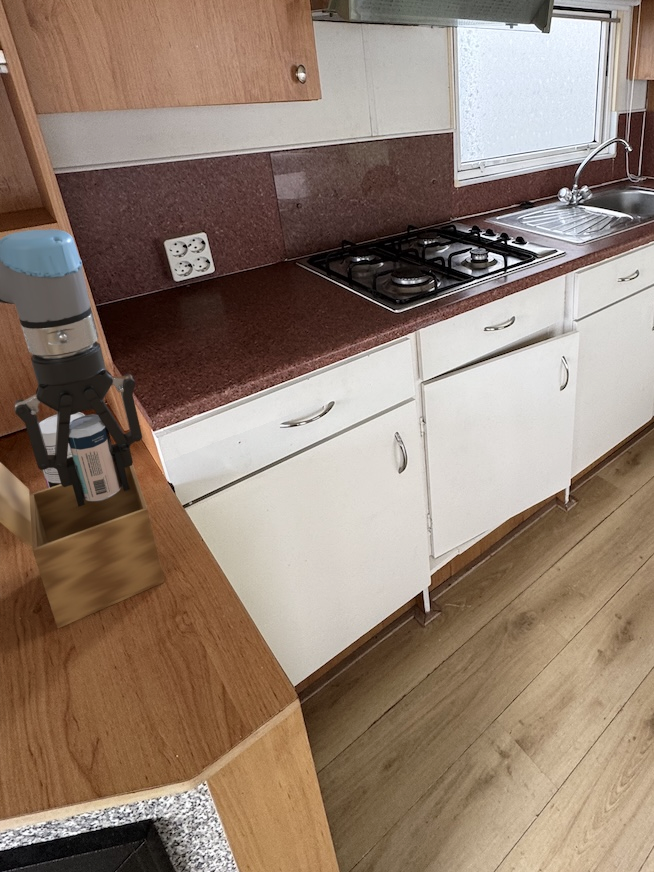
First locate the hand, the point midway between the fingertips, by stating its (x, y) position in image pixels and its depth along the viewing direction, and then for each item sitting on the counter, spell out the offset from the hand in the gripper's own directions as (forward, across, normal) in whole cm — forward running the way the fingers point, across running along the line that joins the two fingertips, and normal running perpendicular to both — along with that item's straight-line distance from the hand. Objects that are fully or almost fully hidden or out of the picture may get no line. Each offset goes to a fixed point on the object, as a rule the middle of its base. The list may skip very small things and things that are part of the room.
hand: (103, 492), depth 84 cm
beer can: (0, 0, 0) cm, 0 cm away
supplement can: (+14, -4, +24) cm, 29 cm away
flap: (-3, -9, 0) cm, 10 cm away
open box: (+14, -2, 0) cm, 14 cm away
